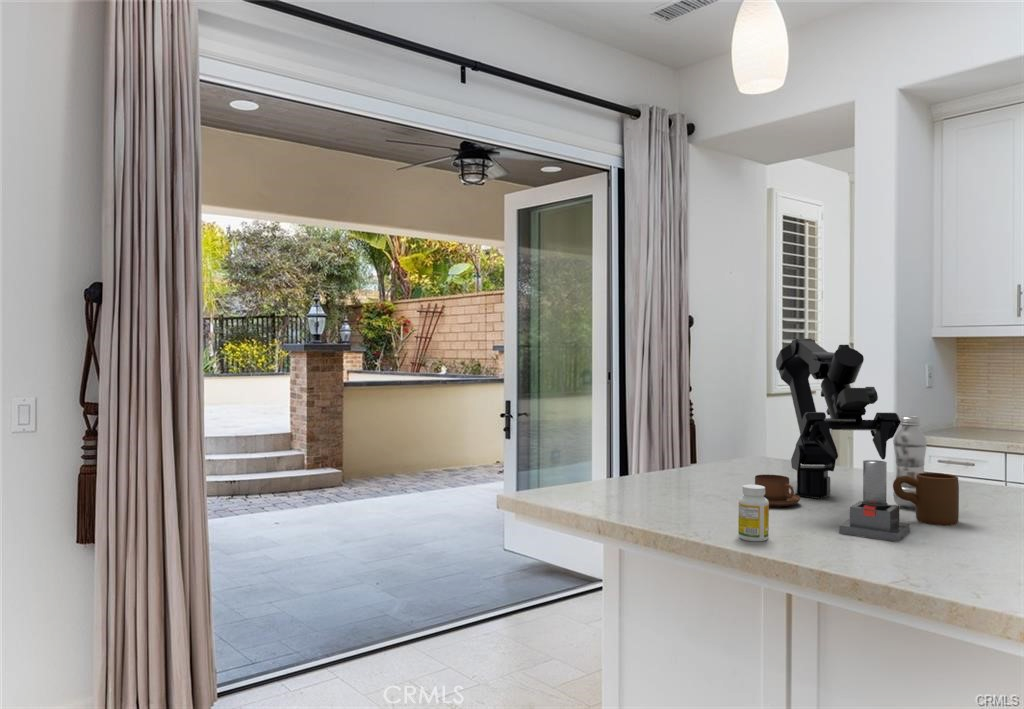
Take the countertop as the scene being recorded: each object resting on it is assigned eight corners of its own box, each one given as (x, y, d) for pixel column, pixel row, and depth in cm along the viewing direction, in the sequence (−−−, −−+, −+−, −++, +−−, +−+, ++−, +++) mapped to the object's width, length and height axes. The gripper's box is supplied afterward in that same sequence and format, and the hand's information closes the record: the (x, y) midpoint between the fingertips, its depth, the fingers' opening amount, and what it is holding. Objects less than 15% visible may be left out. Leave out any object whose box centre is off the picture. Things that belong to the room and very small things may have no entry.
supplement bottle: (748, 542, 135) (748, 489, 135) (732, 535, 140) (732, 484, 140) (774, 540, 136) (774, 488, 136) (758, 533, 141) (758, 483, 141)
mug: (898, 524, 149) (898, 477, 149) (887, 515, 157) (888, 470, 157) (964, 527, 146) (964, 479, 146) (951, 518, 154) (951, 473, 154)
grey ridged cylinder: (859, 523, 142) (859, 461, 142) (865, 519, 145) (865, 459, 145) (884, 527, 139) (884, 464, 139) (890, 523, 142) (890, 461, 142)
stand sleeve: (839, 533, 142) (839, 504, 141) (854, 523, 149) (854, 496, 149) (896, 541, 135) (897, 511, 135) (909, 531, 143) (909, 502, 143)
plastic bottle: (932, 511, 161) (932, 418, 160) (897, 510, 162) (898, 418, 162) (921, 505, 167) (922, 416, 167) (889, 504, 168) (889, 415, 168)
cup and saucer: (808, 504, 169) (808, 477, 169) (786, 512, 160) (787, 483, 160) (758, 496, 177) (758, 471, 177) (734, 504, 169) (734, 477, 169)
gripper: (803, 373, 155) (822, 432, 144) (896, 373, 154) (922, 432, 143) (792, 408, 163) (808, 466, 152) (880, 408, 162) (903, 467, 151)
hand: (860, 457), depth 149 cm, fingers open, 9 cm apart
